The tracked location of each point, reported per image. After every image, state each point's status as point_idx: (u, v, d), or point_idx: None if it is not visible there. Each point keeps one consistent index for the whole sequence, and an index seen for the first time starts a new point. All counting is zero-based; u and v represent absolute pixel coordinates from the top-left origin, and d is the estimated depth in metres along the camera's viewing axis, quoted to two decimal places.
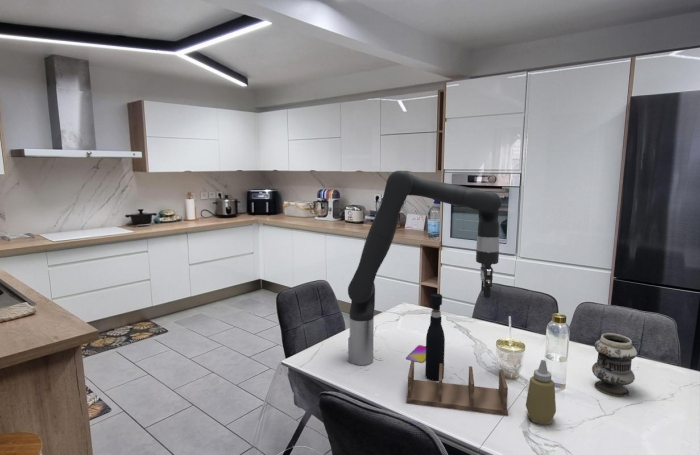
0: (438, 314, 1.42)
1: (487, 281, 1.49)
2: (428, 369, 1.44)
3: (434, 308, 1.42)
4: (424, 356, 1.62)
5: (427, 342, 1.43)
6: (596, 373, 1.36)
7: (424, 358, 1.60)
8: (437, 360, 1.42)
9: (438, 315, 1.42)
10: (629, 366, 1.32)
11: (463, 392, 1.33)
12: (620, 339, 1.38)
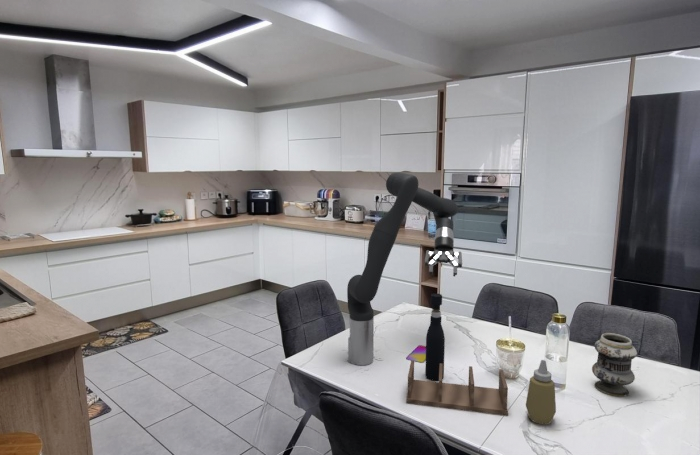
0: (438, 314, 1.42)
1: None
2: (428, 369, 1.44)
3: (434, 308, 1.42)
4: (424, 356, 1.62)
5: (427, 342, 1.43)
6: (596, 373, 1.36)
7: (424, 358, 1.60)
8: (437, 360, 1.42)
9: (438, 315, 1.42)
10: (629, 366, 1.32)
11: (463, 392, 1.33)
12: (620, 339, 1.38)
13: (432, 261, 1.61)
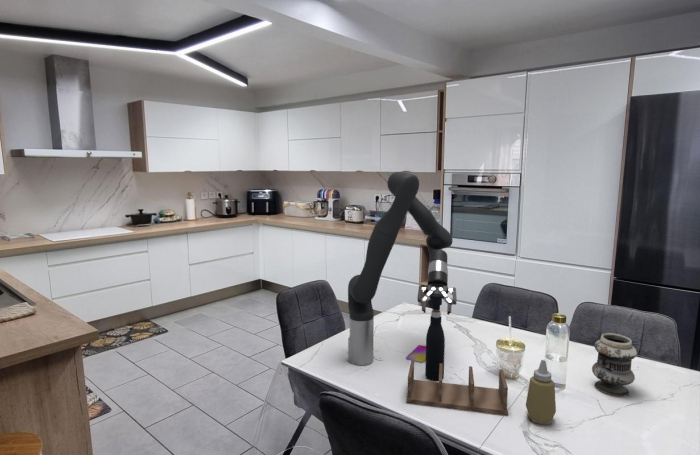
0: (438, 314, 1.42)
1: None
2: (428, 369, 1.44)
3: (434, 308, 1.42)
4: (424, 356, 1.62)
5: (427, 342, 1.43)
6: (596, 373, 1.36)
7: (424, 358, 1.60)
8: (437, 360, 1.42)
9: (438, 315, 1.42)
10: (629, 366, 1.32)
11: (463, 392, 1.33)
12: (620, 339, 1.38)
13: (425, 298, 1.53)
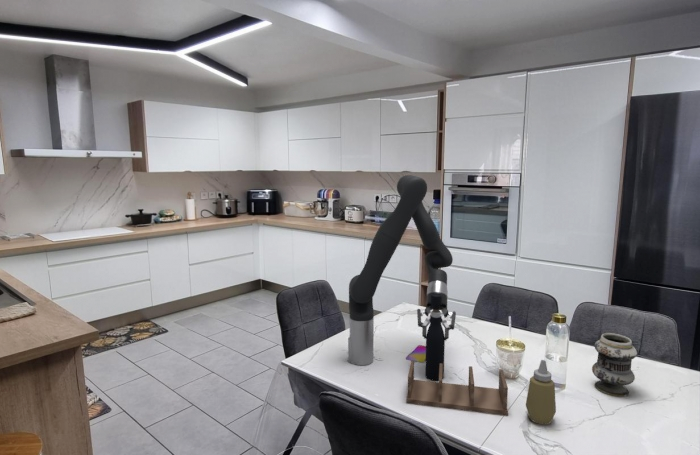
0: (438, 314, 1.42)
1: None
2: (428, 369, 1.44)
3: (434, 308, 1.42)
4: (424, 356, 1.62)
5: (427, 342, 1.43)
6: (596, 373, 1.36)
7: (424, 358, 1.60)
8: (437, 359, 1.42)
9: (438, 315, 1.42)
10: (629, 366, 1.32)
11: (463, 392, 1.33)
12: (620, 339, 1.38)
13: (425, 322, 1.45)
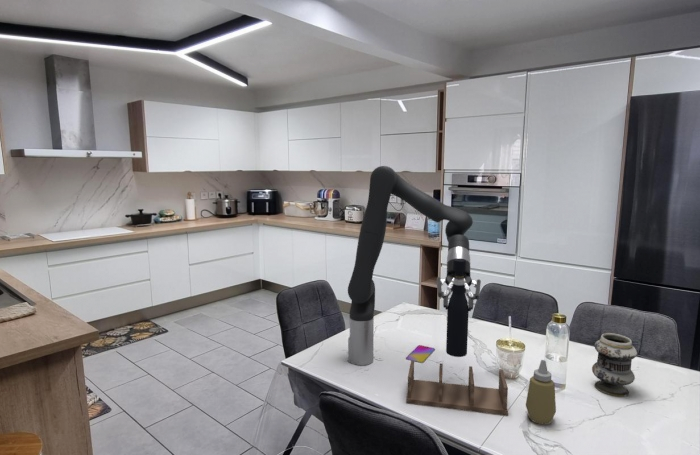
0: (462, 281, 1.26)
1: None
2: (450, 344, 1.28)
3: (457, 275, 1.26)
4: (424, 356, 1.62)
5: (449, 313, 1.27)
6: (596, 373, 1.36)
7: (424, 358, 1.60)
8: (461, 333, 1.26)
9: (462, 283, 1.26)
10: (629, 366, 1.32)
11: (463, 392, 1.33)
12: (620, 339, 1.38)
13: (447, 291, 1.30)
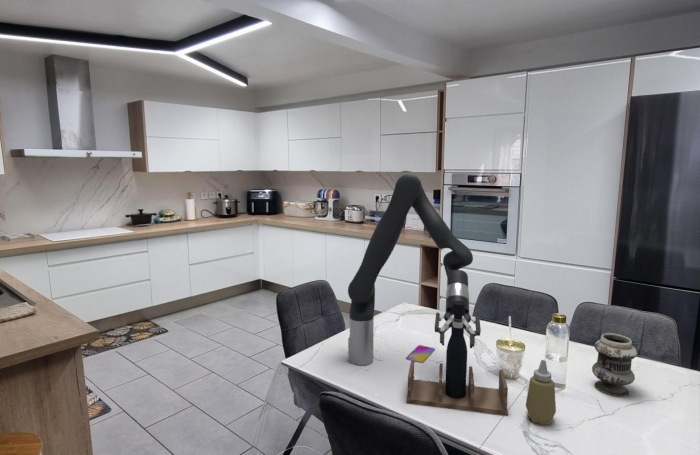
0: (460, 324, 1.28)
1: None
2: (449, 385, 1.30)
3: (456, 317, 1.28)
4: (424, 356, 1.62)
5: (448, 355, 1.29)
6: (596, 373, 1.36)
7: (424, 358, 1.60)
8: (459, 375, 1.28)
9: (460, 325, 1.28)
10: (629, 366, 1.32)
11: None
12: (620, 339, 1.38)
13: (443, 327, 1.31)
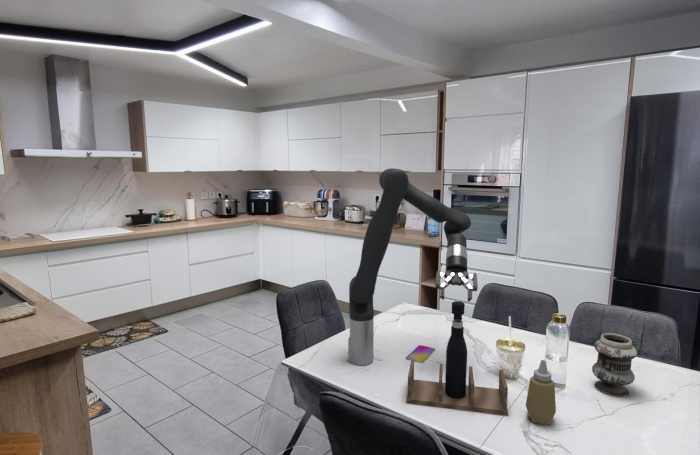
0: (460, 324, 1.28)
1: None
2: (449, 386, 1.30)
3: (456, 318, 1.28)
4: (424, 356, 1.62)
5: (448, 355, 1.29)
6: (596, 373, 1.36)
7: (424, 358, 1.60)
8: (459, 375, 1.28)
9: (460, 325, 1.28)
10: (629, 366, 1.32)
11: None
12: (620, 339, 1.38)
13: (444, 284, 1.43)
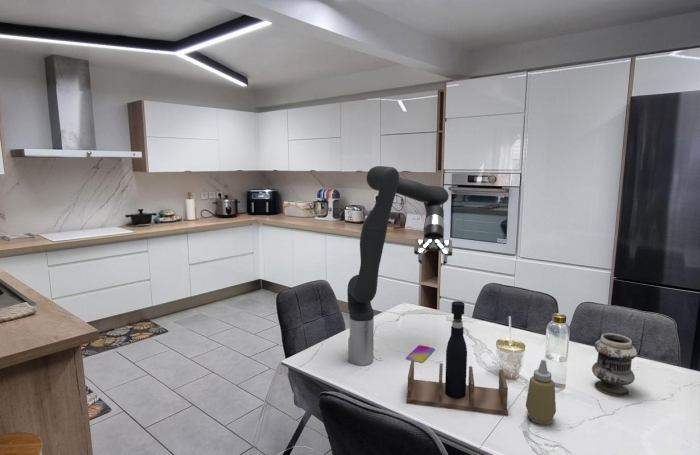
0: (460, 324, 1.28)
1: None
2: (449, 386, 1.30)
3: (455, 318, 1.28)
4: (424, 356, 1.62)
5: (447, 355, 1.29)
6: (596, 373, 1.36)
7: (424, 358, 1.60)
8: (459, 375, 1.28)
9: (460, 325, 1.28)
10: (629, 366, 1.32)
11: None
12: (620, 339, 1.38)
13: (421, 249, 1.56)
